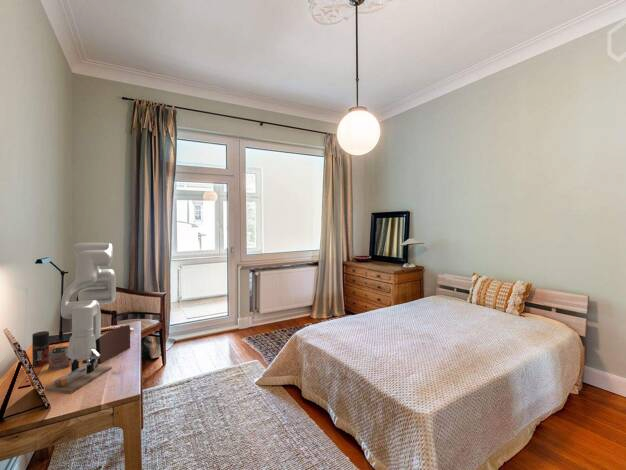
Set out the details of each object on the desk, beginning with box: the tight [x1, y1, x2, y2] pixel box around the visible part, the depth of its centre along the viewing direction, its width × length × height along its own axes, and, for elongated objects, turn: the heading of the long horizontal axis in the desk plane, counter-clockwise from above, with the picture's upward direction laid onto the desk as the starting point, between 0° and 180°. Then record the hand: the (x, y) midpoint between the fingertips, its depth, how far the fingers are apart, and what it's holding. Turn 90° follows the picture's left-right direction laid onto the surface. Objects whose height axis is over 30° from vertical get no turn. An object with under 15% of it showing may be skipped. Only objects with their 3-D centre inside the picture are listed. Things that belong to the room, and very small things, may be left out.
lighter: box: [47, 345, 71, 371], centre depth 142 cm, size 8×3×10 cm, turn 114°
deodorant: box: [31, 330, 50, 368], centre depth 145 cm, size 6×6×15 cm
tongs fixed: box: [55, 360, 98, 387], centre depth 133 cm, size 18×2×3 cm, turn 174°
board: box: [44, 364, 113, 394], centre depth 133 cm, size 21×12×1 cm, turn 174°
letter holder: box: [82, 324, 131, 365], centre depth 157 cm, size 10×20×14 cm, turn 171°
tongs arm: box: [60, 363, 95, 387], centre depth 132 cm, size 16×1×3 cm, turn 173°
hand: (82, 371), depth 135 cm, fingers open, 6 cm apart
